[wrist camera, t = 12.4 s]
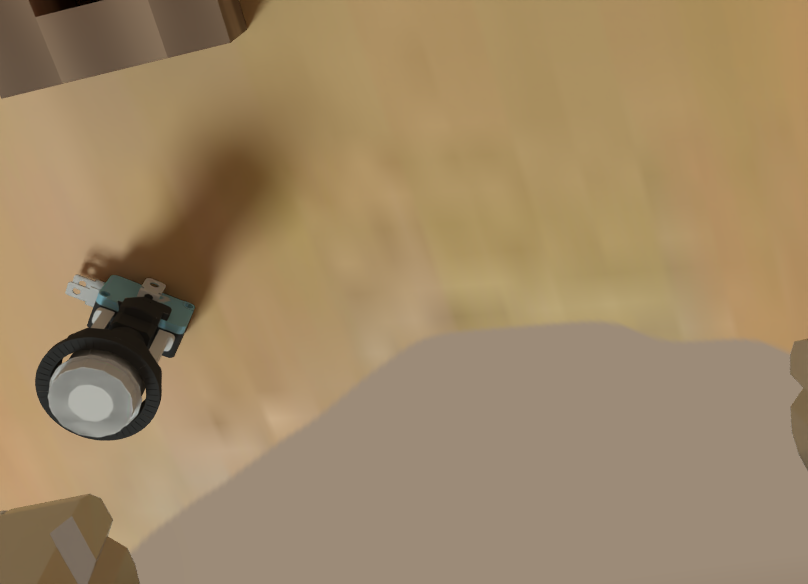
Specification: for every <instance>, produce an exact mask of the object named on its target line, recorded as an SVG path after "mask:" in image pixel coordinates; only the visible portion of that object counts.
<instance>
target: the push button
mask: <svg viewBox="0 0 808 584" xmlns="http://www.w3.org/2000/svg"><path fill="white" fill-rule="evenodd" d="M79 281H85V282H86V286H82V285H79ZM151 283H153V284H156V285H158V286H159V287H153V286H151V285H150V284H151ZM165 287H166V285H165V284H164V283H162V282H159V281H156V280H154V279H151V278H146V280H145V281H144V283H143V284H142V285H141V284H138V283H136V282H133V281H131V280H128V279H125V278H123V277H120V276H117V275H112V276H110V278H109V279H108V280H107V282H106V283H105V282H103V281H100V280H97V279H96V281H93V280H90V279H88V278H85V277H83V276H80V275H75V276H74V279H73V282H69V283H68V286H67V289H66V292H65V293H66V294H67V295H69V296H72V297H75V298H77V299H80V300H83V301H85V304H86V305H89V306H91V307H93V310H92V313H91V316H90V318H89V321H88V324H87V326H88V327H89V328H86V329H84V330H81V331H79V332H76V333H74V334H71V335H70V336H69V337H68V338H67V339H65V340H62V341H61V342H59V343H57V344H56V345H55V346H53V347H52V348H51V349H50V350H49V351H48V353H47V354H46V355H45V356H44V358H43V359H42V361H41V362H40V364H39V366H38V369H37V373H36V379H35V386H36V392H37V396H38V398H39V401H40V403H41V405H42V407H43V408H44V410H45V411H46V412H47V414H48V415H49V416H50V417H51V418H52V419H53V420H54V421H55V422H56V423H57V424H59V425H60V426H62V427H63V428H64V429H66V430H68V431H70V432H72V433H74V434H76V435H79V436H82V437H85V438H89V439H94V440H118V439H122V438H126V437H129V436H132V435H134V434H136V433H138V432H139V431H141V430H142V429H143V428H145V427H146V426H147V425H148V424H149V423H150V422H151V420H152V419H153V417H154V416H155V414H156V412H157V409H158V407H159V405H160V401H161V391H162V389H161V380H162V371H161V368H160V367H159V365H158V364H157V363H158V361H159V359H160V357H161V355H162V356H165V357H168V358H172V357H174V356H175V353H176V351H177V349H178V347H179V345H180V342H181V340H182V338H183V336H184V333H185V331H186V328H187V326H188V323H189V321H190V319H191V316H192V314H193V311H194V309H195V306H194V305H193V304H191V303H189V302H186V301H182V300H180V299H177V298H174V297H172V296H169V295H167V294H164V293H162V292H163V291H164V289H165ZM73 288H76V289H79V290H80V291H81V292H80V294H75V293H74V292H73ZM73 352H74V353H73ZM71 353H73V354H72V355H71V357H70V358H69V360H68V361H66V362H65V363H63V364H62V359H63V358H64V357H65V356H67V355H68V354H71ZM145 388H146V399H145V400H144V401H143V402H142V397H141V396H142V394H143V392H144V390H145Z"/></svg>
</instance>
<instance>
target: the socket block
mask: <svg viewBox="0 0 808 584" xmlns="http://www.w3.org/2000/svg"><path fill="white" fill-rule="evenodd" d="M246 30H247V27H246V24H245V20H244V17H243V13H242V10H241V7H240V3H239V0H102V1H98V2H94V3H90V4H86V5H82V6H78V7H77V4H76V2H75V0H0V96H1V99H2V98H6V97H10V96H14V95H18V94H23V93H27V92H31V91H35V90H39V89H43V88H47V87H51V86H55V85H59V84H63V83H68V82H72V81H76V80H80V79H84V78H88V77H92V76H96V75H100V74H104V73H108V72H112V71H117V70H121V69H125V68H129V67H133V66H137V65H141V64H145V63H149V62H153V61H157V60H162V59H166V58H170V57H174V56H178V55H182V54H186V53H190V52H194V51H198V50H202V49H207V48H211V47H215V46H219V45H223V44H227V43H231V42H232V41H233V40H234V39H236V38H237V37H238V36H240V35H241V34H242V33H243V32H245V31H246Z"/></svg>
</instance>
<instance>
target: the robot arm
mask: <svg viewBox="0 0 808 584" xmlns="http://www.w3.org/2000/svg"><path fill="white" fill-rule="evenodd" d="M790 374H791V375H792V376H793V377H794V379H795V380H796V381H797V382H798V383H799V384H800V385H801V386H802V387H803V390H802V391H801V392H800V394H799V395H798V397H797V398H796V400H795V401H794V403H793V404H792V406H791V426H792V434H793V437H794V440H795V443H796V447H797V450H798V453H799V456H800V458H801V459H802V461H803V463H804V465H805V467H806V469H807V470H808V339H804V340H800V341H795V342H794V345H793V348H792V351H791V354H790ZM112 521H113V519H112V517H111V515H110V513H109V512H108V510H107V508H106V506H105V505H104V503H103V501H102V499H101V498H99V497H96V496H94V495H91V494H86V495H81V496H76V497H71V498H66V499H60V500H55V501H50V502H45V503H40V504H35V505H30V506H25V507H19V508H14V509H11V510H9V511H0V584H140V582H139V578H138V574H137V570H136V566H135V563H134V561H133V559H132V557H131V555H130V552H129V550H128V548H126V547H125V546H123V545H121V544H120V543H118V542H116V541H114V540H113V539H111V538H109V537H108V534H109V531H110V528H111V525H112Z"/></svg>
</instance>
